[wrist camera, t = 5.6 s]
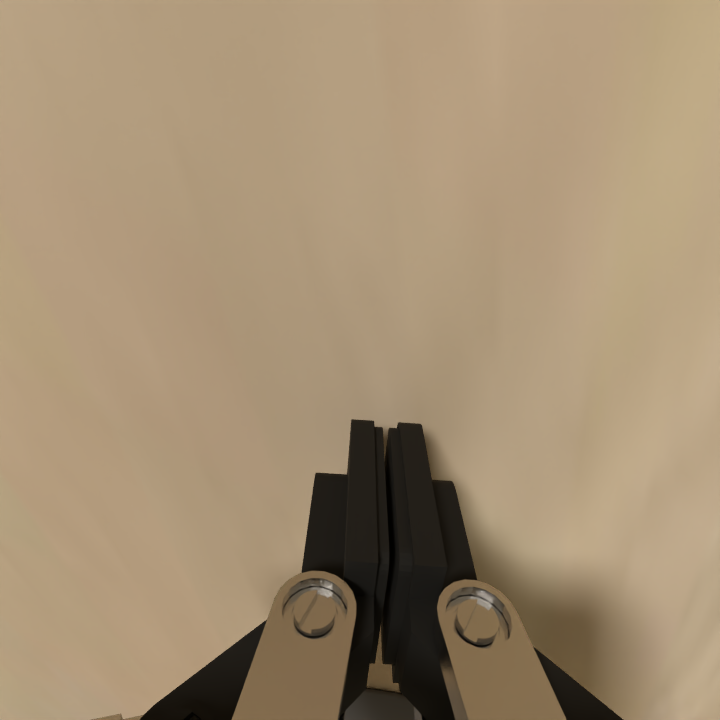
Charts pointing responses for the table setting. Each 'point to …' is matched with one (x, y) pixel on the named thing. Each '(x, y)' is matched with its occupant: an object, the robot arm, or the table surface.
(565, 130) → the table surface
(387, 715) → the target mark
